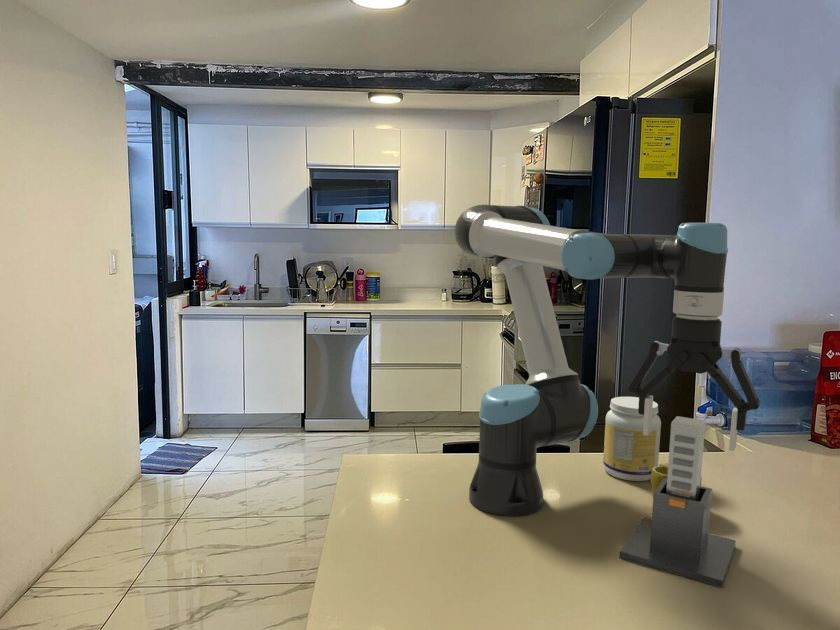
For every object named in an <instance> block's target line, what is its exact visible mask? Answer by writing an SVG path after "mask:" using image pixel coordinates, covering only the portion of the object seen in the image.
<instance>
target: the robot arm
mask: <svg viewBox="0 0 840 630" xmlns="http://www.w3.org/2000/svg"><path fill="white" fill-rule="evenodd" d="M454 238H455V241H456V243H457V245H458V246H459V248H460V249H461V250H462V251H463V252H465V253H466V254H468V255H470V256H474V257H481V258H494V264H495V267H496V270H497V271H499V272H501V273H502V274H503V275H504V276H505V280H506V285H507V288H508V291H509V292H508V293H509V296H510V301H511V305H512V309H513V313H514V316H515V317H514V318H515V320H516V325H517V329H518V330H517V331H518V333H519V335H518V336H519V338H520V342H521V347H522V349H523V354H524V355H523V356H524V359H525V363H526V368H527V371H528V379H527V381H526V382H525V384H522V383H516V384H515V383H514V384H501V385H497V386H494V387H492V388H489V389H488V390H486V391H485V392H484V394H483V395H482V397H481V399H480V408H479V413H478V416H479V439H478V440H479V443H478V463H477V466H476V468H475V471H474V474H473V477H472V479H471V482H470V484H469V489H468V500H469V502H470V503H471V504H472V505H473V506H474V507H475V508H477V509H479V510H481V511H482V512H486V513H489V514H493V515H496V516H497V515H499V516H506V517H507V516H508V517H519V516H526V515H527V516H528V515H530V514H533V513H536V512H538V511H539V510H541V508H542V507H543V505H544V491H543V487H542V483H541V480H540V476H539V473H538V470H537V449H538V448H541V447H546V446H551V445H556V444H557V445H558V444H561V443H562V444H563V443H570V442H575V441H577V440H579V439H582V438H585V437H587V436H588V435H589V434H590V433H592V431H593V429H594V426H595V425H596V424H597V420H598V417H599V416H598V415H599V406H598V401H597V398H596V395H595V393H594V392H593V391H592V390H591V389H590V388H589V387H588V386H587V385H585V384H582V383H581V381H580V378H579V374H578V372H576V371H574V370H573V369H571V368H570V367H569V365H568V364H569V363H568V361H567V360H568V359H567V357H566V354H565V349H564V345H563V341H562V337H561V334H560V330H559V325H558V322H557V321H558V320H557V318H556V314H555V310H554V306H553V302H552V298H551V296H550V295H551V294H550V291H549V286H548V282H547V278H546V273H545V271H544V267H548V268H551V269H556V270H561V271H564V272H566V273H568V275H569V276H570V277H572V278H575V279H582V280H589V281H593V280H598V279H627V278H628V279H632V278H633V279H634V278H651V279H653V278H657V279H671V280H674V289H673V306H672V312H673V313H674V314H675V316H674V317H673V318H672V320H671V321H672V322H671V335H670V342H669V344H668V343H665V342H664V343H663V342H661V340H660V341H659V340H655V341H653V342H652V343H651V344H650V346H649V352H648V355H647V357H646V358H645V360H644V361H643V363H642V365H641V366H640V368H639V370H638V371H637V373H636V374H635V376H634V378H633V379H632V381H631V382H630V384H629V386H628V392H630V393H634V394H636V395H637V396H638V398H639V407H638V412H639V414H640V415H644V424H643V435H646V436H647V435H648V434H649V433H650V432H651V424H652V408H653V401H654V395H649V394H650V393H651V392H652V391H653V390H654V389H655V388H657V386H659V385H660V383H662V382H663V381H664V380H665V379H666V378H667V377H668V376H670V374H671V373H673V372H674V371H675V370H676V369H677V368H678V370H679V371H680V370H681V372H683V373H684V372H686V373H689V372H693V373H695V374H705V373H708V374H709V376H710V377H711V378H712V379H713V380H714V381H715V382H716V383H717V385H718V386H719V388H720V389H721V390H722V391H723V393H724V394H725V395H726V396H727V398H728V399H729V401H730V402H731V403H732V404H733V406H734V407H733V409H732V411H731V420H730V434H729V444H728V445H729V446H728V451H731V452H734V451H735V450H736V448H737V443H738V442H737V441H738V431H744V430H745V428H746V423H747V412H748V411H752V410H754V411H755V410H759V407H760V405H761V401H760V399H759V397H758V395H757V393H756V391H755V389H754V386H753V384H752V382H751V379H750V377H749V375H748V373H747V371H746V368H745V367H744V364H743V361H742V350H741V349H740V348H737V347H735V348H734V349H723V348H722V347H721V346H722V345H721V338H722V337H721V336H722V325H723V324H722V320H721V319H720V318H719V317H721V316H722V315H723V311H724V310H723V309H724V298H725V297H724V296H725V291H724V290H725V289H724V288H725V286H724V285H725V277H726V265H727V257H728V256H727V255H728V253H729V248H728V228H727V226H726V225H725V224H723V223H720V222H682V223H680V225H678V230H677V232H676V234H672V235H671V234H669V235H668V234H646V233H641V234H638V233H633V234H632V233H631V234H629V233H628V234H627V233H626V234H624V233H619V234H617V233H603V232H594V231H589V230H580V229H575V228H574V229H573V228H567V227H560V226H555V225H551V224H550V221H549V220H548V218H547V216H546V215H545V214H544V213H543V212H542V210H539V209H538V208H535V207H531V206H530V207H529V206H525V205H495V204H493V205H492V204H477V205H474V206H470V207H468V208H467V209H466V210H464V211H463V212H462V213H461V214H460V215H459V216H458V219H457V220H456V223H455V226H454ZM665 351H666V352H667V354H668V355H669V356H670V358H671V360H672V361H671V362H670V363H669V364H668V365H667V366H666V367H665V368H664V369H662V370H661V371H660V372H659V373H658V374H657V375H656V376H655V377H654V378H653V379H651V380H650V381H649V382H648V383H647V384H646V385H645V386H644V387H643V386H642V385H641V384H642V383H643V382H644V380H645V379H646V377H647V375H648V374H649V372H650V370H651V368H652V367H653V366H654V364H655V362H656V361H657V359H658V358H659V356H662V355H664V353H665ZM723 357H724V359H725V360H726V361H727V363H729V364H731V367H732V369H733V371H734V375H735V377H736V378H737V380H738V383H739V385H740V387H741V389H742V392H743V393H744V396H745V398H746V401H745V399H744V398H743V397H742V396H741V394H740V392H739V391H738V390H737V389H736V388H735V387H734V386H733V385H734V384H732V383H731V382H730V380H729V379H728V377H727V376H726V375H725V374H724V372H723V371H722V369H721V368H720V366H719V365H718V364H717V363H718V361H720V359H721V358H723Z"/></svg>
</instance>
